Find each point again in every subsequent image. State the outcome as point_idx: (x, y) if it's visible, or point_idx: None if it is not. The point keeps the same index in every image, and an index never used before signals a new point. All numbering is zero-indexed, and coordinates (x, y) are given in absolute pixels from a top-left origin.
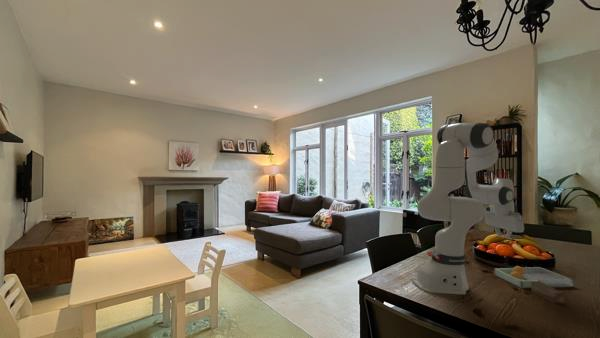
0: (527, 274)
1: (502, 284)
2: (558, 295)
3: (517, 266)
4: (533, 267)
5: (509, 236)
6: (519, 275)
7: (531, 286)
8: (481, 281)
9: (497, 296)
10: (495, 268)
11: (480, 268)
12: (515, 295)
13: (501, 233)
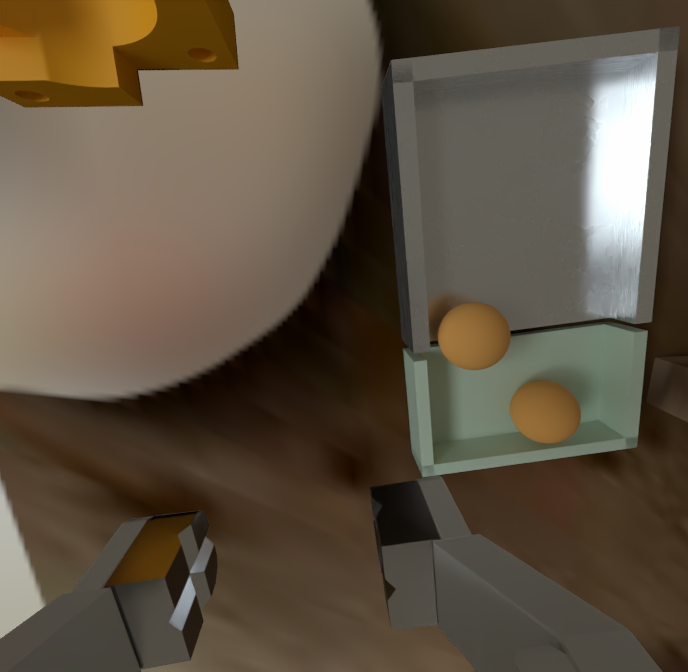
0: (456, 260)
1: (547, 487)
2: None
3: (485, 355)
4: (404, 147)
5: (457, 521)
6: (580, 413)
7: (676, 416)
8: None
9: (661, 581)
10: (422, 468)
11: (305, 473)
12: (666, 503)
13: (176, 569)
